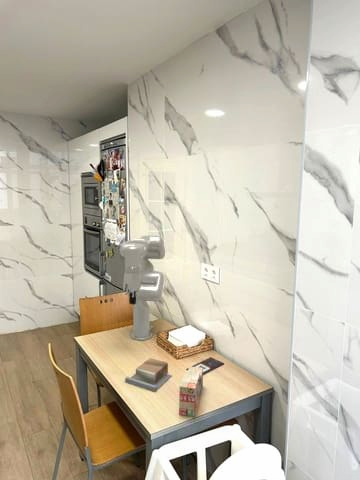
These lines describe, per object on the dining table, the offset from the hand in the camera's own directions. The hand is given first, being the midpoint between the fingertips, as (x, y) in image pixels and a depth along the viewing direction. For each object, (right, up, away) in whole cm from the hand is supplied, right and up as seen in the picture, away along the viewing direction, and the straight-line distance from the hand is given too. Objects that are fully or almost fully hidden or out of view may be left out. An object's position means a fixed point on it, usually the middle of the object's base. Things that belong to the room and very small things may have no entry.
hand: (132, 303), depth 181 cm
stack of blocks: (+30, -33, -38) cm, 58 cm away
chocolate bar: (+38, -30, -10) cm, 49 cm away
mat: (+11, -31, -21) cm, 39 cm away
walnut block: (+15, -27, -15) cm, 34 cm away
